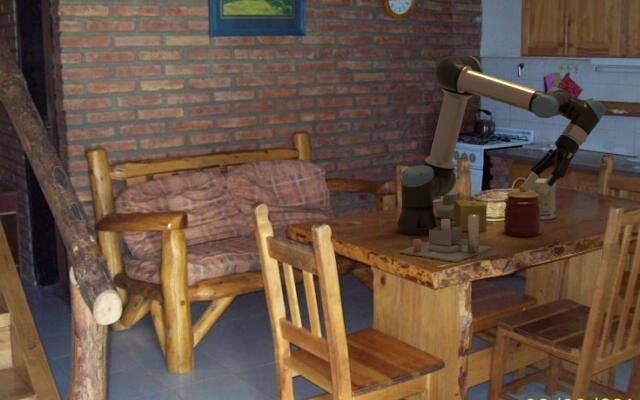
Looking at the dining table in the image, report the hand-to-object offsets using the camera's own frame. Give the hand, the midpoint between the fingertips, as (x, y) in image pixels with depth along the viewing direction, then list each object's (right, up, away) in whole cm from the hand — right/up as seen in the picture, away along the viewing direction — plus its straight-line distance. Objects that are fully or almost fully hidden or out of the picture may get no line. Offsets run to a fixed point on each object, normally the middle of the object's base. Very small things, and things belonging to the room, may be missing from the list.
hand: (532, 191), depth 294 cm
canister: (+2, -15, +24) cm, 29 cm away
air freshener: (-20, -10, +52) cm, 57 cm away
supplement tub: (+16, -10, +50) cm, 53 cm away
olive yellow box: (-15, -14, +33) cm, 39 cm away
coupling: (-26, -19, -3) cm, 32 cm away
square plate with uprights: (-29, -20, 0) cm, 35 cm away
